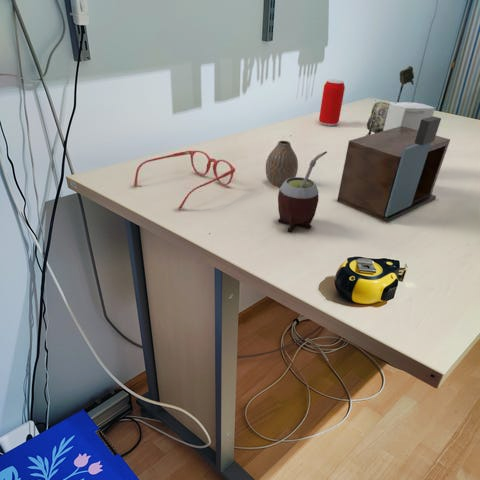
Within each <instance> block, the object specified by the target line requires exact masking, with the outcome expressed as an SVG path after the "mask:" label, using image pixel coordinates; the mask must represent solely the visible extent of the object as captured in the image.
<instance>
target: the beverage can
mask: <svg viewBox="0 0 480 480" xmlns="http://www.w3.org/2000/svg"><path fill="white" fill-rule="evenodd" d="M345 89H346V87H345V82H344V81H343V80H342V79H336V78H332V79H331V78H330V79H327V80H326V82H325V83H324V85H323V91H322V97H321V104H320V111H319V116H318V121H319V123H321V125H323V126H327V127H333V126H335V125H338V124H339V122H340V118H341V111H342V106H343V100H344V95H345Z"/></svg>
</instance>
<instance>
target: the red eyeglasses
mask: <svg viewBox="0 0 480 480" xmlns="http://www.w3.org/2000/svg"><path fill="white" fill-rule="evenodd" d="M196 153H201V154H203V155H205V157H206V158H207V164H206V170H205V172H204V173H200V172H199V171H198V170H197V169H196V167H195V164H194V156H195V154H196ZM187 155H190V162H191V167H192V169H193V171H194V172H195V173H196V174H197V175H199V176H206V175H207V174H208V173H209V171H210V169H211V165H212V171H213V175H214V177H215V178H213V179H211V180H209V181H206V182H204V183H202V184H199V185H197V186H196V187H194V188H193V189H191V190H190V191H188V193H187V194H186V196H185V197H184V198H183V200H182V201H181V204H180V205H179V207H178V210H181V209H182V208H183V207H184V205H185V203H186V201H187V199H188V198H189V196H191V195H192V193H193V192H194V191H196V190H197V189H200V188H202V187H205V186H207V185H209V184H212V183H214V182H218V183H219V184H220V185H222V186H228V185H229V184H231V182H232V180H233V177H234V173H235V172H236V168H235V167H234V166H233V165H232V164H231V163H230V162H229V161H227V160H225V159H218V160H216V159H215V158H211V157H210V156H209V155H208V153H206V152H205V151H202V150H185V151H180V152H175V153H173V154H168V155H164V156H159V157H155V158H151V159H148V160H145V161H143V162H141V163H140V164H139V165H138V167H137V168H136V170H135V175H134V181H133V186H134V187H137V186H138V175H139V172H140V169H141V167H143V165H145V164H147V163H151V162H153V161H159V160H163V159H169V158H175V157H180V156H187ZM220 162H223V163H226V164H227V165H228V167H229V168H230V170H228V171H226V172H224V173H222V174H221V175H219V176H218V173H217V168H218V167H217V166H218V164H219V163H220ZM212 163H213V164H212ZM229 175H230V176H229ZM228 176H229V177H230V178H229V180H228V182H227V183H222V182H221V180H220V179H223V178H226V177H228Z"/></svg>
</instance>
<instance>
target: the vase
mask: <svg viewBox="0 0 480 480" xmlns="http://www.w3.org/2000/svg"><path fill="white" fill-rule="evenodd" d="M298 171H299V161H298V157H297V155H296V153H295V150H294V149H293V148H292V145H291V141H288V140H279V141H278V142H277V144H276V146H274V148H273V149H272V150H271V151H270V153H269V155H268V156H267V159H266V162H265V176H266V179H267V181H268V182H269V184H271V185H272V186H274V187H278V188H280V187H281V186H282V184H283V183H284V182H285V181H286V180H287V179H289V178H293V177H297V174H298Z"/></svg>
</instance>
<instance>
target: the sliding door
mask: <svg viewBox="0 0 480 480" xmlns="http://www.w3.org/2000/svg"><path fill="white" fill-rule="evenodd" d="M441 121H442V118H441V117H438V116H434V115H433V117H429V118H425V119H422V120H421V122H420V126H419V129H418V133H417V136H416V139H415V143H416V145H413V146H410V147H407V148H404V149H403V153H402V156H401V160H400V164H399V167H398V171H397V174H396V178H395V181H394V185H393V189H392V192H391V196H390V199H389V203H388V206H387V210H386V214H385V216H386V217H388V216H390V215H392V214H394V213H396V212H398V211H400V210H402V209H405V208H407V207H409V206H411V205H412V202H413V198H414V195H415V192H416V189H417V186H418V183H419V180H420V176H421V173H422V170H423V167H424V164H425V161H426V158H427V154H428V151H429V148H430V145H431V142H434V139H435V136H437V133H438V130H439V127H440V125H441Z"/></svg>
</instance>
